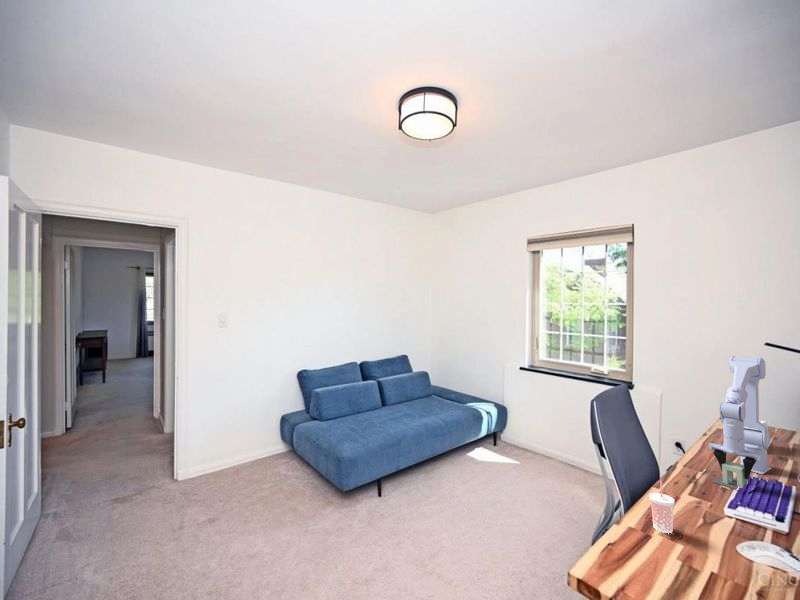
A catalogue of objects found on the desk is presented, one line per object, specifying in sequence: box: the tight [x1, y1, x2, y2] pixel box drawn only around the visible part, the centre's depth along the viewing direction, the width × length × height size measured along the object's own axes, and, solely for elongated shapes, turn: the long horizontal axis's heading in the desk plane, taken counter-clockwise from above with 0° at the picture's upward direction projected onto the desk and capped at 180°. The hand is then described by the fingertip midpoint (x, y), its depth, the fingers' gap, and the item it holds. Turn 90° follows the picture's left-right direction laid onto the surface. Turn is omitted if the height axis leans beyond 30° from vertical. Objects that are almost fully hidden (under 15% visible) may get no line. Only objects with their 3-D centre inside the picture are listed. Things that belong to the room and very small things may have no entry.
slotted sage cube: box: [721, 460, 749, 488], centre depth 136 cm, size 6×6×6 cm
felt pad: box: [712, 476, 738, 491], centre depth 136 cm, size 10×10×1 cm
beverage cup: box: [648, 479, 676, 535], centre depth 110 cm, size 6×6×14 cm
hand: (735, 474), depth 136 cm, fingers open, 6 cm apart
